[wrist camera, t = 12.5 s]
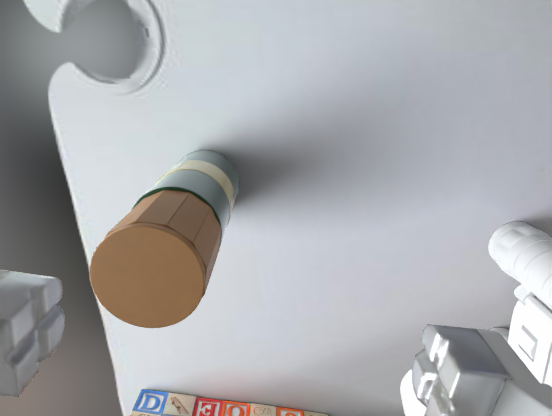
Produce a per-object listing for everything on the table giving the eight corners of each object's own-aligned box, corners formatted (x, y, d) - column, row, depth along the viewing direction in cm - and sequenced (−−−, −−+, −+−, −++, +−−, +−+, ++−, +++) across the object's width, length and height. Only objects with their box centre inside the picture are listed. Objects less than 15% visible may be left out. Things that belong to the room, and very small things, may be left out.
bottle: (174, 145, 36) (91, 206, 20) (242, 153, 36) (214, 221, 20) (171, 209, 38) (93, 312, 22) (236, 217, 38) (206, 324, 22)
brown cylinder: (131, 185, 25) (87, 219, 19) (224, 196, 25) (208, 233, 19) (130, 268, 27) (90, 322, 21) (216, 277, 27) (200, 334, 21)
